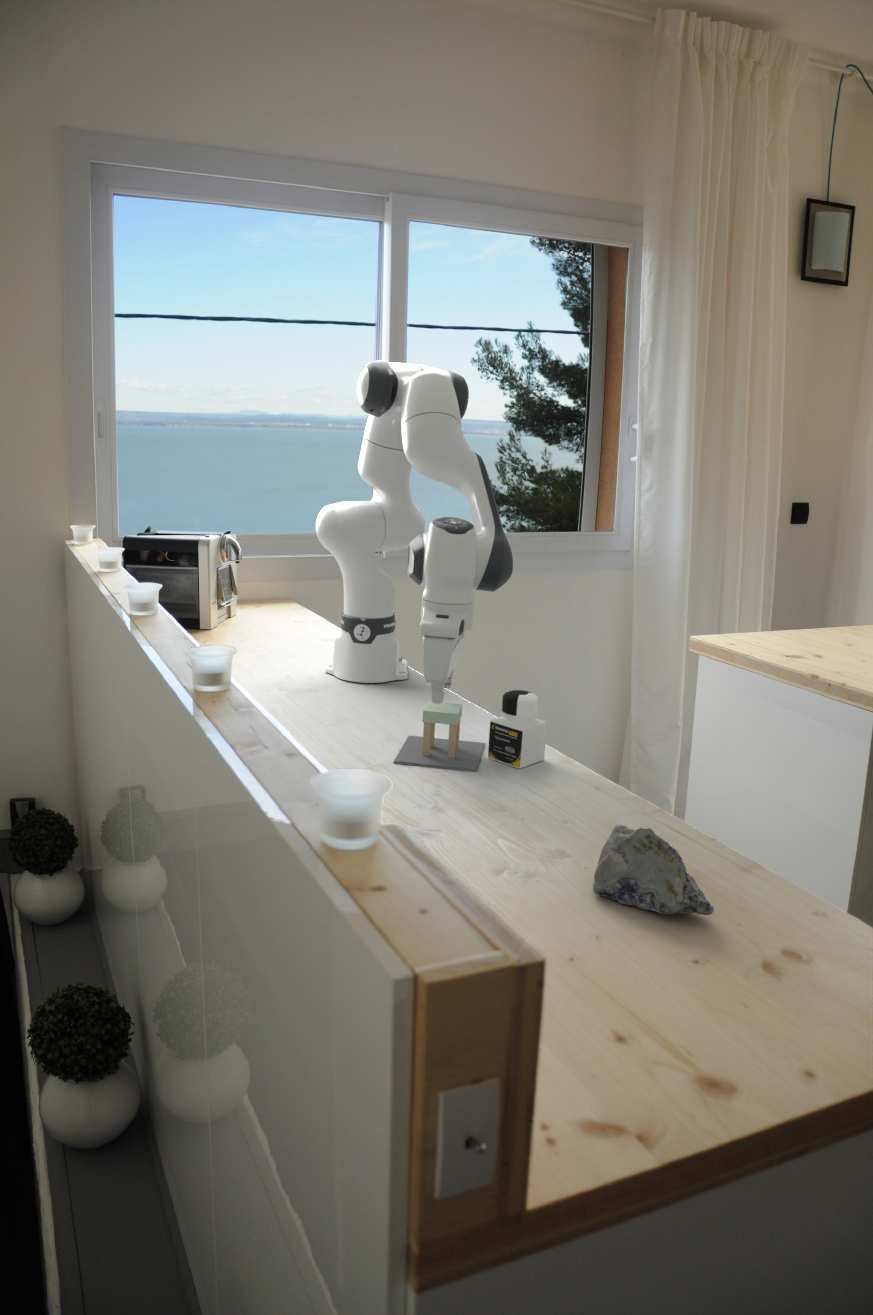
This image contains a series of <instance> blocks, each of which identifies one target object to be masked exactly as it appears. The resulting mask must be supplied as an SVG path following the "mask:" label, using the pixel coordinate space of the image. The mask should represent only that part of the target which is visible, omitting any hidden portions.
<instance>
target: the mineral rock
mask: <svg viewBox="0 0 873 1315" xmlns="http://www.w3.org/2000/svg"><path fill="white" fill-rule="evenodd" d="M600 852H601V853H600V854H599V857H598V862H597V864H596V868H595V872H594V877H593V880H594V881H593V884H592V892H593V893H594V894H595V895H596V896H598V897H605V898H609V899H611V900H612V901H617V902H618V903H620V904H623V905H628V906H636V907H637V908H639V909H642V910H648V911H653V912H655V913H658V914H661V915H671V914H675V915H676V914H681V915H687V914H697V915H703V916H711V915H713V913H714V906H713V905H711V903H710V900H708V899H707V897H706V895H705V893H703V891H702V890H701V889H700V888H699V886H698V884H697V882H696V881H695V879H694V878H693V877H692V876H691V875H690V874H689V873H688V872H687V868H686V865H685V863H684V861H683V858H682V856H681V855H680V854H679V852H678V851H677V849H676V848H674V847H672V846H671V845H670V844H669V843H668V842H667V841H665V840H664V839H663V838H661V836H658V835H657V834H656V833H655V831H654V830H653V829H652V828H650V827H648V828H643V827H640V828H637V829H633V828H632V829H631V828H629V827H628V826H626V825H622V824H619V825H616V826H614V828H613V829H612V830H611V833H610V835H609V837H607V840H606V841H605V843H604V845H603V847H602V850H601V851H600Z"/></svg>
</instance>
